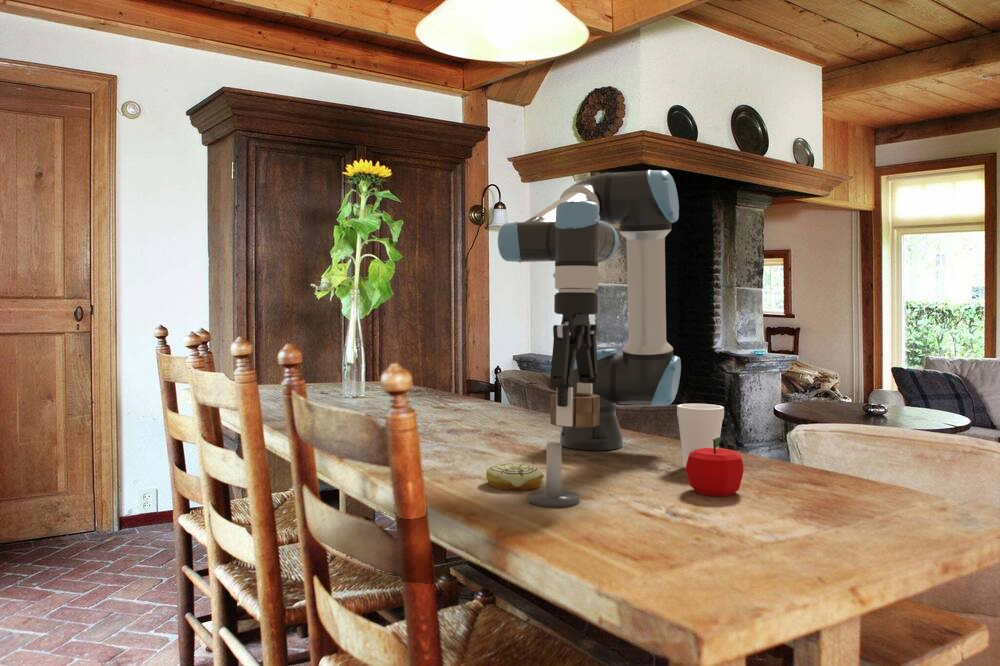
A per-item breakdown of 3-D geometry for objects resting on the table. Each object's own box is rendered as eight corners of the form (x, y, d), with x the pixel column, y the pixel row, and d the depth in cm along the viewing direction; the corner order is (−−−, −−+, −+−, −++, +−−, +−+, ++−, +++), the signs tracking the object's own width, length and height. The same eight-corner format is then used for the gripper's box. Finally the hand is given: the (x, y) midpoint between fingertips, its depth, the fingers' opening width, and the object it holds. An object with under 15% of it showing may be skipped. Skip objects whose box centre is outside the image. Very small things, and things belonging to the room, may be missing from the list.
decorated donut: (522, 495, 144) (523, 474, 144) (475, 487, 150) (475, 467, 150) (552, 484, 153) (552, 465, 152) (506, 477, 159) (506, 458, 158)
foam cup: (702, 474, 161) (703, 410, 161) (667, 467, 169) (668, 405, 168) (731, 469, 167) (733, 407, 166) (697, 461, 174) (697, 402, 174)
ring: (604, 423, 141) (605, 394, 141) (587, 428, 134) (587, 398, 134) (563, 419, 145) (563, 392, 144) (544, 424, 138) (544, 396, 137)
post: (548, 492, 145) (549, 437, 145) (589, 500, 140) (590, 443, 139) (517, 501, 139) (517, 444, 138) (559, 510, 133) (559, 450, 132)
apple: (731, 502, 139) (732, 445, 139) (675, 493, 145) (675, 438, 145) (753, 491, 147) (754, 437, 147) (698, 483, 154) (699, 431, 153)
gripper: (579, 292, 149) (578, 414, 150) (529, 290, 131) (528, 428, 132) (617, 292, 146) (616, 417, 147) (572, 290, 128) (570, 432, 128)
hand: (574, 422), depth 139 cm, fingers closed on ring, 8 cm apart
